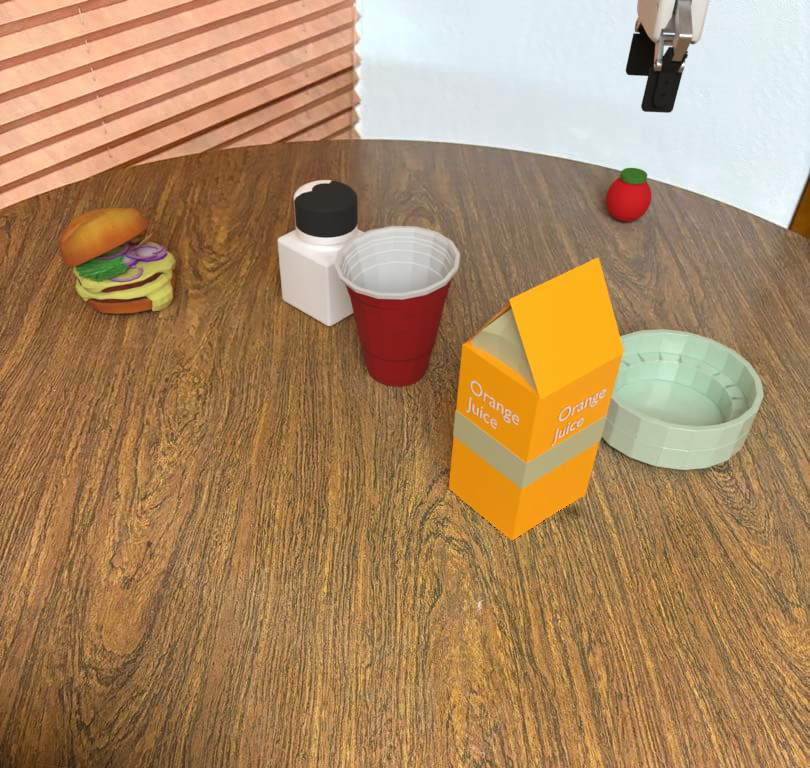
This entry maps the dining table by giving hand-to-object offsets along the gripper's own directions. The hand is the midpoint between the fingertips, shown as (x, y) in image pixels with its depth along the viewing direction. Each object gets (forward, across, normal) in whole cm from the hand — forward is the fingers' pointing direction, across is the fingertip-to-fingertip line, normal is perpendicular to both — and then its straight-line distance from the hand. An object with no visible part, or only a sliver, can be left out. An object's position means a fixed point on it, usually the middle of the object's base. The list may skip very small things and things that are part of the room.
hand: (647, 92), depth 92 cm
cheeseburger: (+15, -18, +54) cm, 59 cm away
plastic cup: (+15, -30, +26) cm, 42 cm away
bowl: (+15, -36, +1) cm, 39 cm away
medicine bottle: (+15, -18, +33) cm, 41 cm away
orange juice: (+15, -46, +16) cm, 51 cm away
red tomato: (+15, +1, -1) cm, 15 cm away
